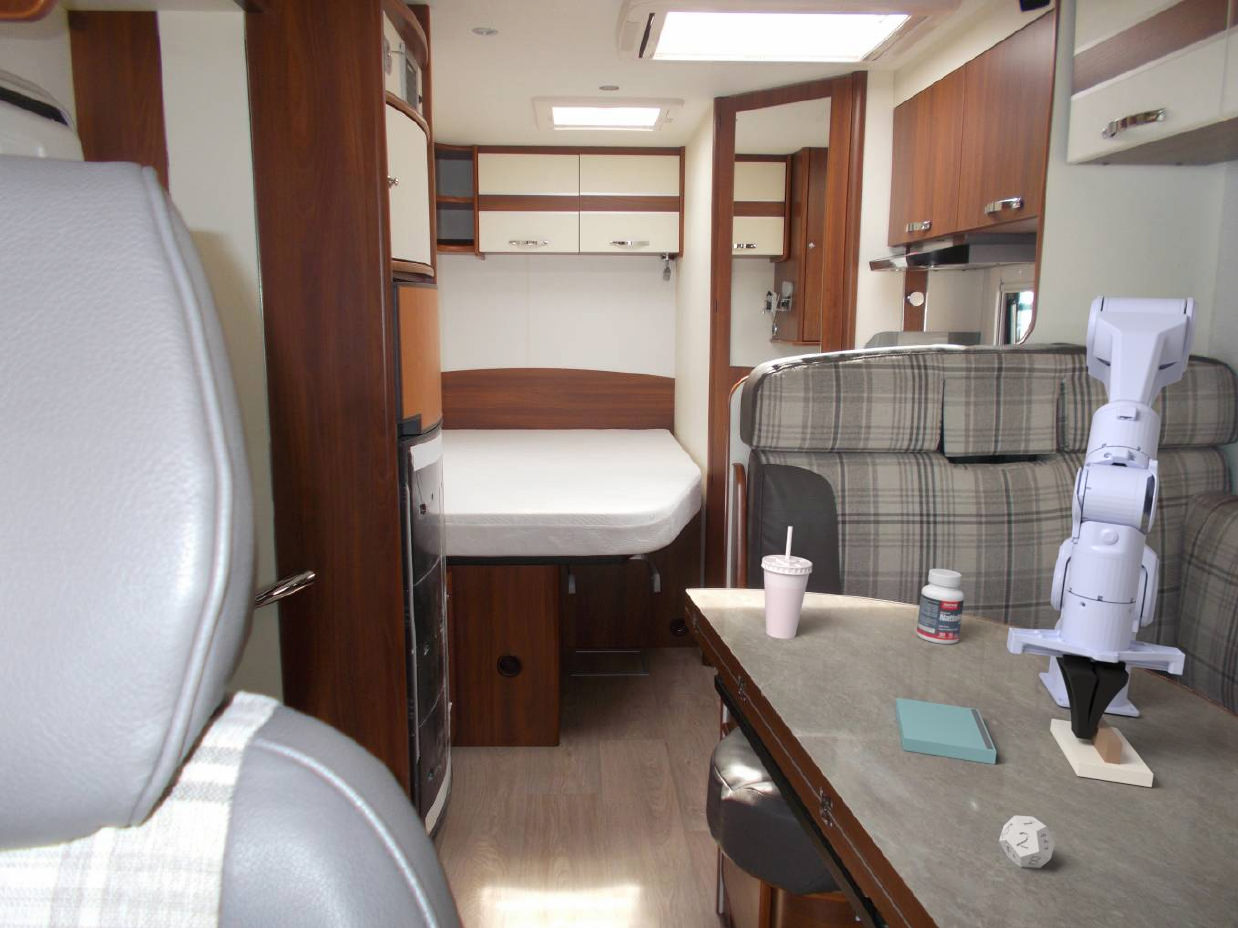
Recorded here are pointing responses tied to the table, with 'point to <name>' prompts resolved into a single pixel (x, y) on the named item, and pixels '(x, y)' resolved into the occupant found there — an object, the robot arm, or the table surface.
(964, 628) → the table surface
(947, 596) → the pill bottle
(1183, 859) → the table surface
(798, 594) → the smoothie
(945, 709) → the teal flat block
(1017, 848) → the game die
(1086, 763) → the cream block with bar
